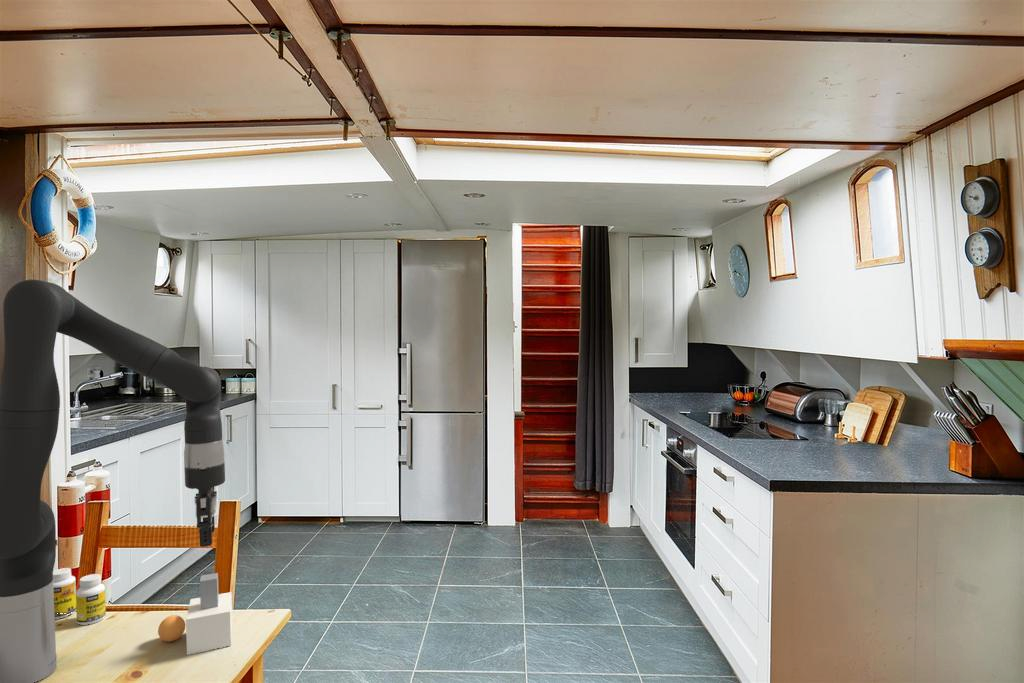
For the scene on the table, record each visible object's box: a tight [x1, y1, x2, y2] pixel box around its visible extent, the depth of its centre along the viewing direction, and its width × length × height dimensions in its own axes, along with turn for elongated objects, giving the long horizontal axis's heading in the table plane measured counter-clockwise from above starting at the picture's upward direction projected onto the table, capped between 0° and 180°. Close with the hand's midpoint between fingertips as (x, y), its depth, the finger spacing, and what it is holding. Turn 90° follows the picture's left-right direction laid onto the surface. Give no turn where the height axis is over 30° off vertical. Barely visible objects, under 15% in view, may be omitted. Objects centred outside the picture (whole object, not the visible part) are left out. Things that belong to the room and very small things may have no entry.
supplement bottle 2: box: [75, 573, 107, 626], centre depth 135 cm, size 5×5×10 cm
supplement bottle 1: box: [53, 567, 77, 620], centre depth 138 cm, size 6×6×10 cm
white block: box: [185, 572, 234, 656], centre depth 126 cm, size 8×10×13 cm
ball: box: [157, 614, 186, 643], centre depth 126 cm, size 5×5×5 cm
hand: (207, 538), depth 126 cm, fingers open, 8 cm apart
